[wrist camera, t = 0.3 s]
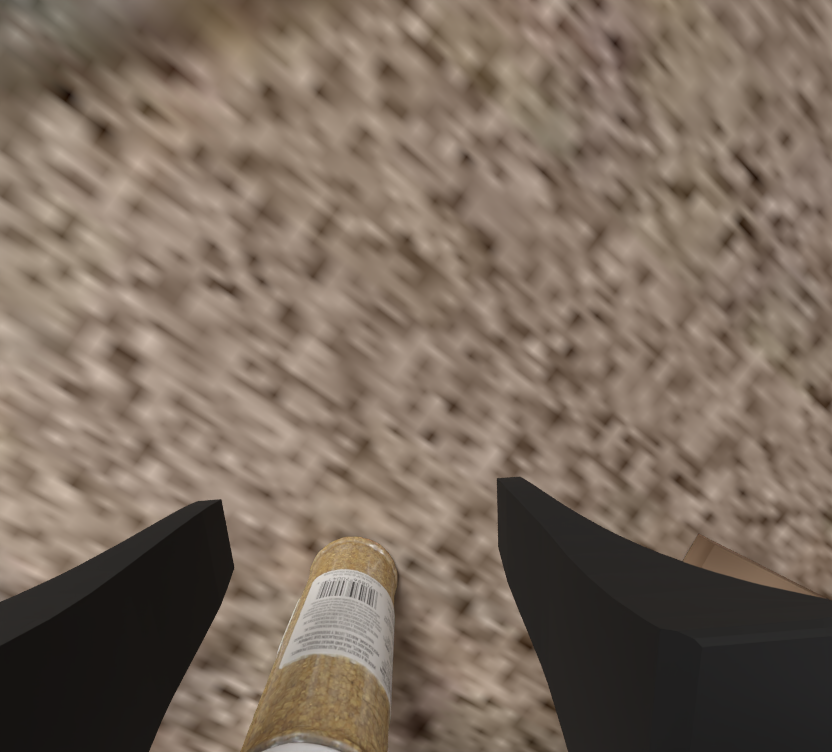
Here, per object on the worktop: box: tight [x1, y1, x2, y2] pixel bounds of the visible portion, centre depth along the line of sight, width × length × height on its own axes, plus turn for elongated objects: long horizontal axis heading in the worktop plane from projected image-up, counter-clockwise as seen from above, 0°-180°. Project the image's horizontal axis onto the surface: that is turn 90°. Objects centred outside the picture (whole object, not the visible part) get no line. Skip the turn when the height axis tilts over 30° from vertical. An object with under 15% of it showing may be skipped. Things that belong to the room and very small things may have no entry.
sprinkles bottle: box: [240, 537, 397, 752], centre depth 16 cm, size 5×5×14 cm
